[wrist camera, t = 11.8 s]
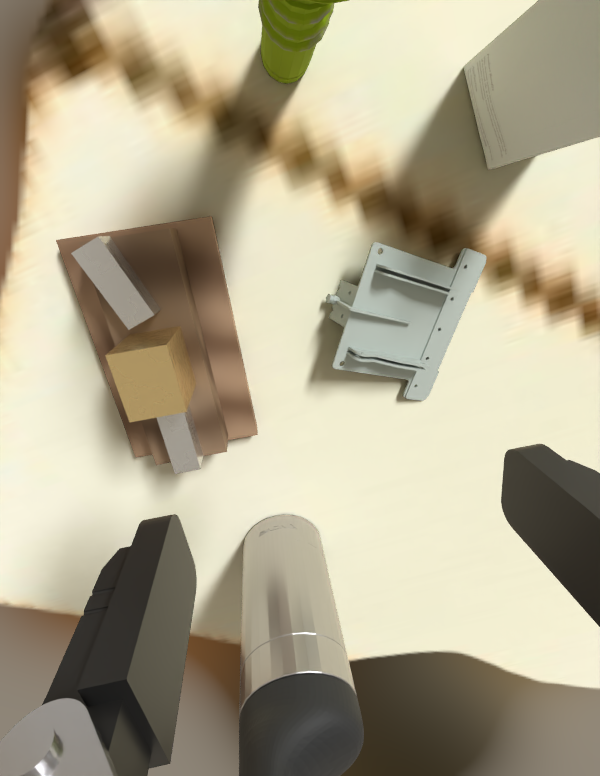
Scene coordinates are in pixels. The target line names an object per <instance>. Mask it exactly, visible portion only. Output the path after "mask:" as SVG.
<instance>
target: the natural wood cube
mask: <svg viewBox="0 0 600 776" xmlns="http://www.w3.org/2000/svg"><path fill="white" fill-rule="evenodd" d="M105 356H106V359H107V362H108V364H109V367H110V370H111V373H112V375H113V378H114V381H115V384H116V387H117V389H118V392H119V395H120V398H121V400H122V403H123V406H124V409H125V411H126V414H127V417H128V420H129V422H135V421H140V420H146V419H151V418H157V417H162V416H168V415H173V414H179V413H184V412H187V409H188V406H189V403H190V400H191V397H192V395H193V392H194V389H195V386H196V381H195V377H194V374H193V370H192V366H191V363H190V359H189V355H188V352H187V348H186V344H185V341H184V337H183V333H182V330H181V326H177V327H171V328H165V329H159V330H154V331H148V332H142V333H136V334H130V335H128V336H127V337H126V338H125V339H124V340H123V341H121V342H120V343H119V344H118V345H117V346H116V347H114V348H113V349H112V350H111V351H110V352H109V353H108V354H106V355H105Z"/></svg>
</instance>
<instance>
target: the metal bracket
mask: <svg viewBox="0 0 600 776" xmlns="http://www.w3.org/2000/svg"><path fill="white" fill-rule="evenodd" d="M380 248H381V249H382V253H381V254H378V250H379V249H380ZM485 263H486V256H485V255H483V254H481V253H478V252H476V251H473V250H471V249H467V248H464V249H462V251H461V253H460V255H459V258H458V260H457V263H456V265H455V267H454V268H449V267H446V266H444V265H441V264H438V263H435V262H432V261H429V260H426V259H424V258H421V257H418V256H415V255H412V254H409V253H407V252H404V251H401V250H398V249H395V248H392V247H389V246H387V245H384V244H381V243H378V242H374V243H373V244H372V245H371V248H370V251H369V254H368V257H367V260H366V263H365V266H364V269H363V272H362V275H361V278H360V281H359V284H358V286H356V285H353V284H351V283H348V282H346V281H343V280H340V283H339V286H340V288H339V290H337V293H336V296H334V295H330V294H328V295H327V297H326V302H327V303H331V304H333V306H332V309H333V311H332V312H330V315H329V318H330V319H332V320H333V321H335V322H336V323H338V324H340V325H341V326H343V327H344V330H343V333H342V336H341V339H340V342H339V345H338V348H337V351H336V354H335V357H334V360H333V363H332V367H333V368H334V369H339V370H346V371H353V372H359V373H366V374H373V375H380V376H386V377H393V378H400V379H406V380H408V383H407V385H406V388H405V390H404V393H403V397H404V398H407V399H413V400H421V401H423V400H425V399H426V398H427V397H428V396H429V394H430V391H431V389H432V387H433V384H434V382H435V380H436V377H437V375H438V373H439V372H438V369H439V366H440V364H441V362H442V360H443V357H444V355H445V353H446V350H447V348H448V346H449V343H450V341H451V339H452V336H453V334H454V332H455V329H456V327H457V325H458V322H459V320H460V318H461V315H462V313H463V311H464V309H465V306H466V304H467V302H468V299H469V297H470V295H471V293H472V292H473V291H474V289H475V287H476V284H477V282H478V280H479V277H480V275H481V273H482V270H483V268H484V266H485ZM465 265H466V266H465ZM464 266H465V269H464ZM350 293H351V294H350ZM451 298H452V300H451ZM439 328H440V329H439ZM438 329H439V331H438ZM427 357H428V358H427ZM426 358H427V360H426ZM341 361H344V364H343V365H342V366H340V362H341ZM415 385H416V386H415ZM414 386H415V387H414Z"/></svg>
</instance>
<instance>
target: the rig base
mask: <svg viewBox="0 0 600 776" xmlns="http://www.w3.org/2000/svg"><path fill="white" fill-rule="evenodd" d="M98 236H110V237H111V239H112V240H113V241H114V243H115V244H116V246H117V247H118V249H119V250H120V251H121V253H122V254H123V256H124V257H125V259H126V260H127V262H128V263H129V264H130V266H131V267H132V269H133V270H134V272H135V273H136V274H137V276H138V277H139V279H140V280H141V282H142V283H143V284H144V286H145V287H146V289H147V290H148V292H149V293H150V294H151V296H152V297H153V299H154V300H155V302H156V303H157V305H158V306H159V307H160V309H161V310H160V311H158V312H157V313H156V314H155V315H154V316H152V317H150V318H149V319H147V320H145V321H143V322H142V323H140V324H138V325H137V326H135V327H133V328H131V329H130V330H128V328H127V327H126V326H125V324H124V323H123V322H122V320H121V319H120V318H119V316H118V315H117V314H116V312H115V311H114V310H113V308H112V307H111V306H110V304H109V303H108V302H107V300H106V299H105V298H104V296H103V295H102V294H101V292H100V291H99V290H98V288H97V287H96V286H95V284H94V283H93V282H92V281H91V279H90V278H89V277H88V275H87V274H86V273H85V271H84V270H83V269H82V267H81V266H80V265H79V263H78V262H77V261H76V259H75V258H74V257H73V255H72V254H71V253H72V252H74V251H75V250H77V249H79V248H80V247H82V246H83V245H85V244H87V243H88V242H90V241H92V240H93V239H95V238H96V237H98ZM56 242H57V244H58V247H59V250H60V253H61V255H62V258H63V261H64V263H65V266H66V269H67V272H68V274H69V277H70V280H71V283H72V285H73V288H74V291H75V293H76V296H77V299H78V302H79V304H80V307H81V310H82V312H83V315H84V318H85V321H86V323H87V326H88V329H89V332H90V334H91V337H92V340H93V342H94V345H95V348H96V351H97V353H98V356H99V359H100V361H101V364H102V367H103V370H104V372H105V375H106V378H107V381H108V383H109V386H110V389H111V391H112V394H113V397H114V400H115V402H116V405H117V408H118V410H119V413H120V416H121V419H122V421H123V424H124V427H125V429H126V432H127V435H128V438H129V440H130V443H131V446H132V449H133V451H134V454H135V457H141V456H146V455H152V454H153V457H154V460H155V463H156V465H159V464H164V463H169V462H171V460H170V457H169V454H168V451H167V448H166V445H165V442H164V439H163V436H162V433H161V430H160V427H159V424H158V421H157V418H151V419H146V420H140V421H135V422H129V420H128V417H127V414H126V411H125V409H124V406H123V403H122V400H121V398H120V395H119V392H118V389H117V387H116V384H115V381H114V378H113V375H112V373H111V370H110V367H109V364H108V362H107V359H106V356H105V355H106V354H108V353H109V352H110V351H111V350H112V349H113V348H114V347H116V346H117V345H118V344H119V343H120V342H121V341H123V340H124V339H125V338H126V337H127V336H128V335H130V334H136V333H142V332H148V331H154V330H159V329H165V328H171V327H177V326H181V330H182V333H183V337H184V341H185V344H186V348H187V352H188V355H189V359H190V363H191V366H192V370H193V374H194V377H195V381H196V386H195V389H194V392H193V395H192V397H191V400H190V403H189V406H190V410H191V413H192V417H193V420H194V424H195V427H196V431H197V434H198V438H199V441H200V445H201V448H202V452H203V456H206V455H212V454H217V453H222V452H227V444H228V440H232V439H237V438H243V437H248V436H253V435H257V424H256V420H255V415H254V410H253V406H252V401H251V396H250V392H249V387H248V382H247V378H246V373H245V368H244V364H243V359H242V354H241V350H240V345H239V340H238V336H237V331H236V326H235V322H234V317H233V312H232V308H231V303H230V298H229V294H228V289H227V284H226V280H225V275H224V270H223V266H222V261H221V256H220V252H219V247H218V242H217V238H216V233H215V228H214V223H213V219H212V217H211V216H209V217H203V218H196V219H190V220H183V221H177V222H171V223H164V224H158V225H151V226H145V227H138V228H132V229H125V230H119V231H112V232H106V233H99V234H93V235H86V236H80V237H73V238H67V239H60V240H56Z"/></svg>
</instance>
